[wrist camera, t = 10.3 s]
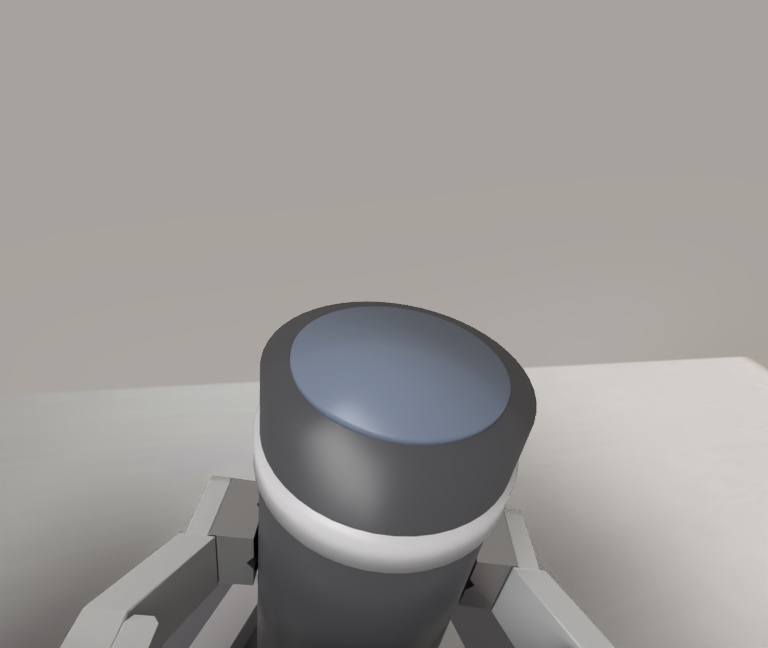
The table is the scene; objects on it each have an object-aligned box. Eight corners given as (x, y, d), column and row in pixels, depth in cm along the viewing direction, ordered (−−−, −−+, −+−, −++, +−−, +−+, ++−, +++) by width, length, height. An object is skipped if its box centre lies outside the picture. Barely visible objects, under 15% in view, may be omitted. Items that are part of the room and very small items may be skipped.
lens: (216, 736, 13) (182, 387, 6) (305, 578, 17) (337, 274, 11) (378, 839, 12) (535, 533, 5) (430, 640, 16) (550, 338, 10)
